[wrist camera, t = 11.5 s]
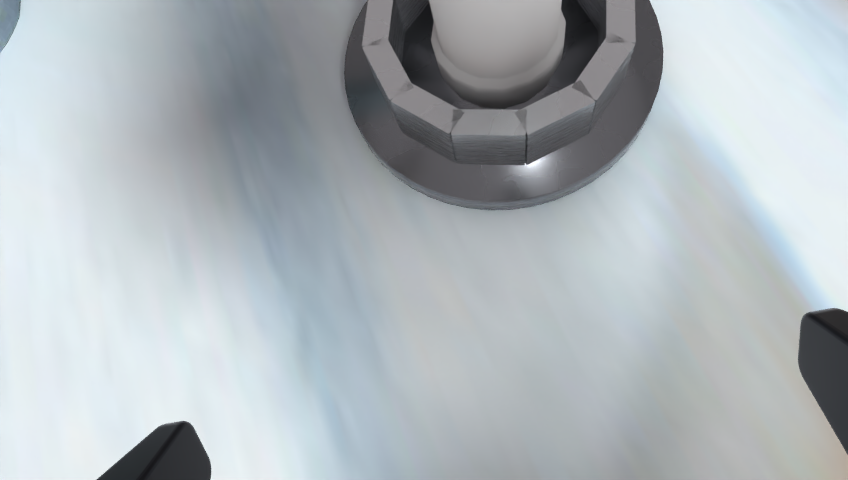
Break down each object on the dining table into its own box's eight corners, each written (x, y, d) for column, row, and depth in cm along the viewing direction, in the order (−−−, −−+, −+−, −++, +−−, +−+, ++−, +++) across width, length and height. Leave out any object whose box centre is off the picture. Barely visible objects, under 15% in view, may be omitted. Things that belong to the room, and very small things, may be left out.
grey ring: (716, 16, 25) (746, -47, 22) (549, 271, 23) (554, 243, 20) (457, -95, 29) (450, -162, 26) (292, 115, 27) (261, 70, 24)
